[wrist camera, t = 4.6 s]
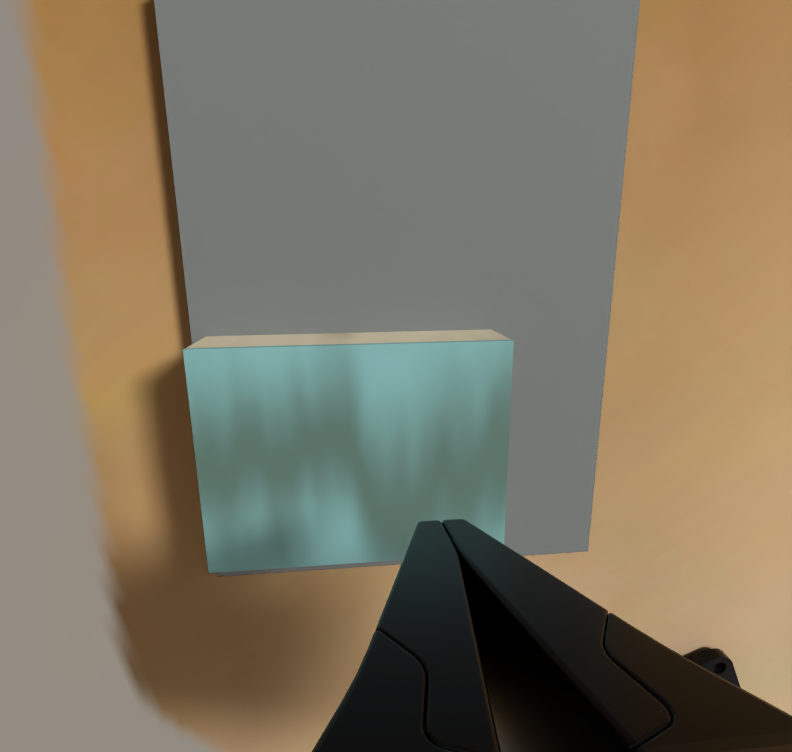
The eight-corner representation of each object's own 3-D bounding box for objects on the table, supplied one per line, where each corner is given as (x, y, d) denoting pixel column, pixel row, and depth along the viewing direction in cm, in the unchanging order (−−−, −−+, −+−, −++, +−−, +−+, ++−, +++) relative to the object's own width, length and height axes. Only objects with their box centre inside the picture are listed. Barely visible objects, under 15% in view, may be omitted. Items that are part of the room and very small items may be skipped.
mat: (579, 540, 17) (587, 551, 16) (222, 564, 16) (217, 576, 15) (626, 8, 13) (640, -4, 12) (161, -10, 12) (151, -24, 11)
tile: (503, 553, 14) (208, 573, 13) (484, 515, 16) (226, 531, 15) (513, 340, 12) (182, 349, 11) (490, 329, 14) (206, 336, 13)
